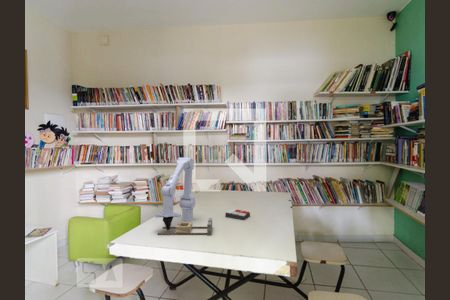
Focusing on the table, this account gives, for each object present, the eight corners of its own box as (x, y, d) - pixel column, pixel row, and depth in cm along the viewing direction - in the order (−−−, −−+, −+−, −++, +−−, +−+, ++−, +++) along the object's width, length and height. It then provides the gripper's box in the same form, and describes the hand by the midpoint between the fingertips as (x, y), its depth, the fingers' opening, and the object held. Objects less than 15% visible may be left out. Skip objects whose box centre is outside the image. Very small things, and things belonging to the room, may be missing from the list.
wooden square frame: (178, 228, 125) (178, 222, 125) (192, 228, 125) (192, 222, 125) (175, 234, 117) (175, 227, 117) (189, 234, 117) (189, 227, 117)
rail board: (163, 229, 127) (163, 218, 127) (212, 229, 126) (212, 217, 127) (156, 238, 115) (156, 225, 115) (210, 237, 114) (210, 224, 115)
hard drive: (244, 215, 143) (225, 211, 150) (243, 221, 143) (225, 217, 150) (250, 211, 152) (232, 207, 160) (250, 217, 153) (232, 213, 160)
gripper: (153, 208, 117) (153, 232, 117) (178, 208, 117) (179, 232, 117) (157, 205, 124) (157, 227, 124) (181, 204, 124) (181, 227, 124)
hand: (168, 229), depth 121 cm, fingers closed
